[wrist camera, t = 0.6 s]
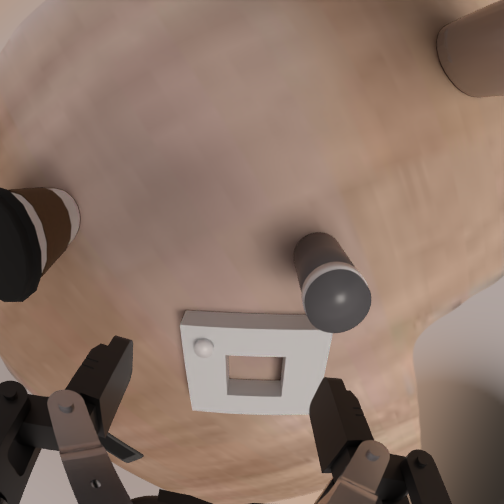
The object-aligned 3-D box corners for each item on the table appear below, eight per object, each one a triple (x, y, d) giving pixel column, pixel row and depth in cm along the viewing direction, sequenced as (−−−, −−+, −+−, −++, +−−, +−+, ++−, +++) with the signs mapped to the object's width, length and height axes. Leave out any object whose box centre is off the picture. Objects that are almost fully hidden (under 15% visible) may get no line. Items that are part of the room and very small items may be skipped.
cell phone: (128, 461, 49) (127, 463, 48) (73, 424, 46) (71, 427, 45) (145, 454, 47) (144, 457, 46) (85, 414, 44) (84, 417, 43)
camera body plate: (328, 314, 33) (335, 335, 30) (312, 398, 38) (315, 419, 35) (185, 310, 34) (177, 330, 30) (196, 394, 39) (191, 415, 35)
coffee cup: (67, 276, 33) (10, 326, 22) (18, 213, 30) (-48, 244, 19) (115, 219, 30) (50, 261, 19) (58, 149, 28) (-19, 163, 16)
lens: (345, 232, 30) (378, 273, 21) (338, 279, 32) (365, 333, 23) (294, 230, 30) (308, 272, 21) (290, 278, 32) (301, 334, 23)
